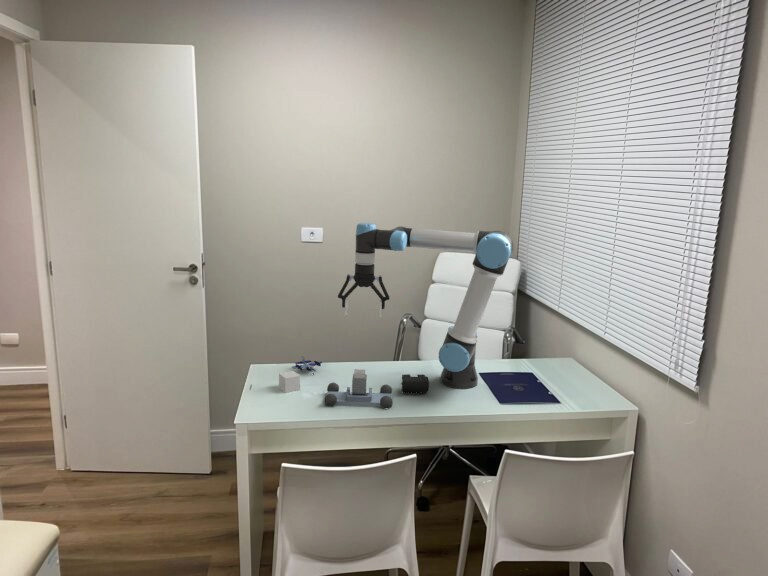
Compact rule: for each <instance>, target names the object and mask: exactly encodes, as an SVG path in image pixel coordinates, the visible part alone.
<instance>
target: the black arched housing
mask: <svg viewBox="0 0 768 576" xmlns="http://www.w3.org/2000/svg"><path fill="white" fill-rule="evenodd" d="M400 384H401V393H402V394H427V393H428V392H429V389H430V380H429V377H428V376H426V375H425V374H417V375H416V376H411V374H402V375H401V383H400Z"/></svg>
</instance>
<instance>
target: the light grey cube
mask: <svg viewBox="0 0 768 576" xmlns="http://www.w3.org/2000/svg"><path fill="white" fill-rule="evenodd" d="M278 388H279V389H280V390H281V391H283V393H285V394H288V393H292V392H293V391H294V392H298V391H301V375H300V374H299V373H297V372H296V371H294V370H291V371H285V372H279V373H278Z"/></svg>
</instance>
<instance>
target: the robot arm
mask: <svg viewBox="0 0 768 576" xmlns="http://www.w3.org/2000/svg"><path fill="white" fill-rule="evenodd" d="M406 247H407V248H419V249H431V250H442V251H451V252H461V253H473V254H474V255H475V256H474V257H473V258H474V259H473V261H472V267H473V268H474V269H473V270H474V271H473V273H472V276H471V279H470V281H469V284H468V287H467V289H466V292H465V295H464V298H463V300H462V303H461V306H460V309H459V311H458V313H457V317H456V319H455V323H454V325H453V326H449V327H448V329H447V333H446V336H445V338H444V341H443V343H442V345H441V347H440V348H439V351H438V361H439V363H440V364H441V367H443V369H442V371H441V373H440V382H441V383H442V384H443V385H445V386H447V387H449V388H456V389H472V388H474V387H476V386H478V384H479V383H478V380H479V376H478V374H477V370H476V365H475V363H476V354H477V353H476V351H477V343H478V339H477V338H478V329H479V327H480V323H481V321H482V318H483V317H484V313H485V310H486V308H487V305H488V303H489V299H490V297H491V295H492V293H493V290H494V287H495V284H496V281H497V278H499V277H501V276H503V275H504V272H505V269H506V268H507V265H508V262H509V260H510V258H511V256H512V253H513V251H514V242H513V239H512V237H511V236H510V235H509V234H508V233H506V232H505V231H501V230H488V231H487V230H477V232H475V233H474V232H467V231H466V232H464V231H451V230H439V229H426V228H416V227H415V228H412V227H406V226H402V225H401V226H397V227H394V228H392V229H379V228H378V229H377V226H376V224H375V223H372V222H371V223H370V222H360V223H359V222H358V223H357V225H356V230H355V253H354V255H355V256H354V257H355V258H354V259H355V260H354V262H355V264H354V275H351V274H347V275H346V279H345V281H344V284H343V285H342V287H341V289H340V290H339V292H338V295H337V298H338V299H341V308H344V317H347V316H348V297H349V296H350V294H351V293H353V292H354V290H355V289H356V288H357V287H360V288H369V287H370V289H372V290H373V292H374V293H375V294H376V295H377V296H378V297H379V299H380V300H379V312H378V313H379V314H378V315H379V316H378V317H379V318H380V319H381V318H382V310H385V306H386V303H385V302H386V301H389V300H390V299H391V298H390V295H389V293H388V291H387V289H386V286H385V284H384V281H383V275H379V276H375V264H374V263H375V262H376V261H375V260H376V259H375V258H376V257H375V256H376V250H383V251H384V250H385V251H394V252H402V251H404V250H405V249H406ZM405 251H406V250H405ZM352 280H354V284H352V286H350V288H349V289H348V290H347V291H346V292H345V290H346V288H347V287H348V285H349V282H351V281H352ZM375 280H376V282H377V283H378V284H379V286H380V288H381V290H382V292H383V294H384V295H383V294H382V293H381V292H380V290H379V289H378V288H377V286H376V285H375V284H374V282H375ZM344 292H345V293H344Z"/></svg>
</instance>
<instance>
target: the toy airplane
mask: <svg viewBox="0 0 768 576" xmlns="http://www.w3.org/2000/svg"><path fill="white" fill-rule="evenodd" d="M322 364H323V362H322V361H317V360H314V361H313V362H312V361H311V360H305V357H304V356H303V355H302V356H301V361H297V362H295V365H294V366H291V369H297V370H300V371H303V369H305V370H306V371H309V372H311V375H312V374H313V375H312V376H315V372H317V373H318V371H317V370H316V369H315V367H316V366H318V367H321V366H322Z"/></svg>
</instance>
